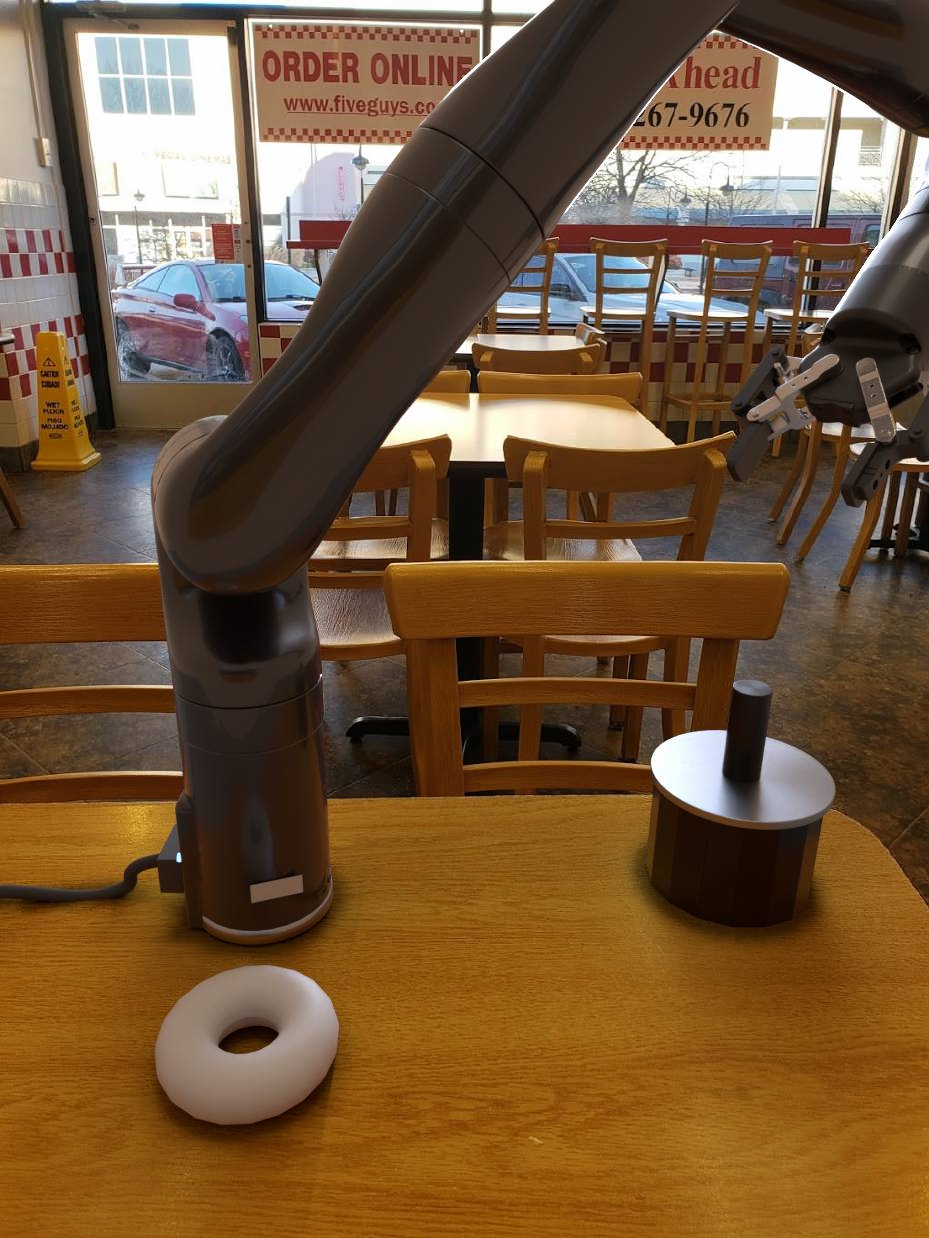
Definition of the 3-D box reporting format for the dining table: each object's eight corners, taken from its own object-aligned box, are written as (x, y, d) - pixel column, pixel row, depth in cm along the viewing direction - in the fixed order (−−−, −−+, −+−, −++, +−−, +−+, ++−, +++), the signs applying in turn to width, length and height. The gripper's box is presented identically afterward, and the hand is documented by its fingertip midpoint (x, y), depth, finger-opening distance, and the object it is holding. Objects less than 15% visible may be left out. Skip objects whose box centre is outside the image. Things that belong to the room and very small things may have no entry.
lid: (668, 836, 60) (679, 729, 57) (636, 742, 72) (644, 649, 69) (861, 839, 60) (883, 732, 57) (798, 745, 72) (813, 652, 69)
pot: (662, 932, 63) (674, 825, 60) (634, 835, 74) (643, 739, 71) (831, 935, 63) (852, 827, 60) (779, 837, 74) (794, 741, 71)
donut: (316, 1150, 48) (356, 1002, 57) (313, 1101, 46) (354, 957, 56) (127, 1132, 49) (196, 988, 58) (118, 1083, 47) (191, 944, 56)
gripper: (797, 258, 67) (681, 435, 65) (1006, 262, 57) (878, 471, 55) (826, 333, 73) (718, 499, 70) (1021, 348, 62) (905, 543, 60)
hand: (789, 487), depth 62 cm, fingers open, 8 cm apart
